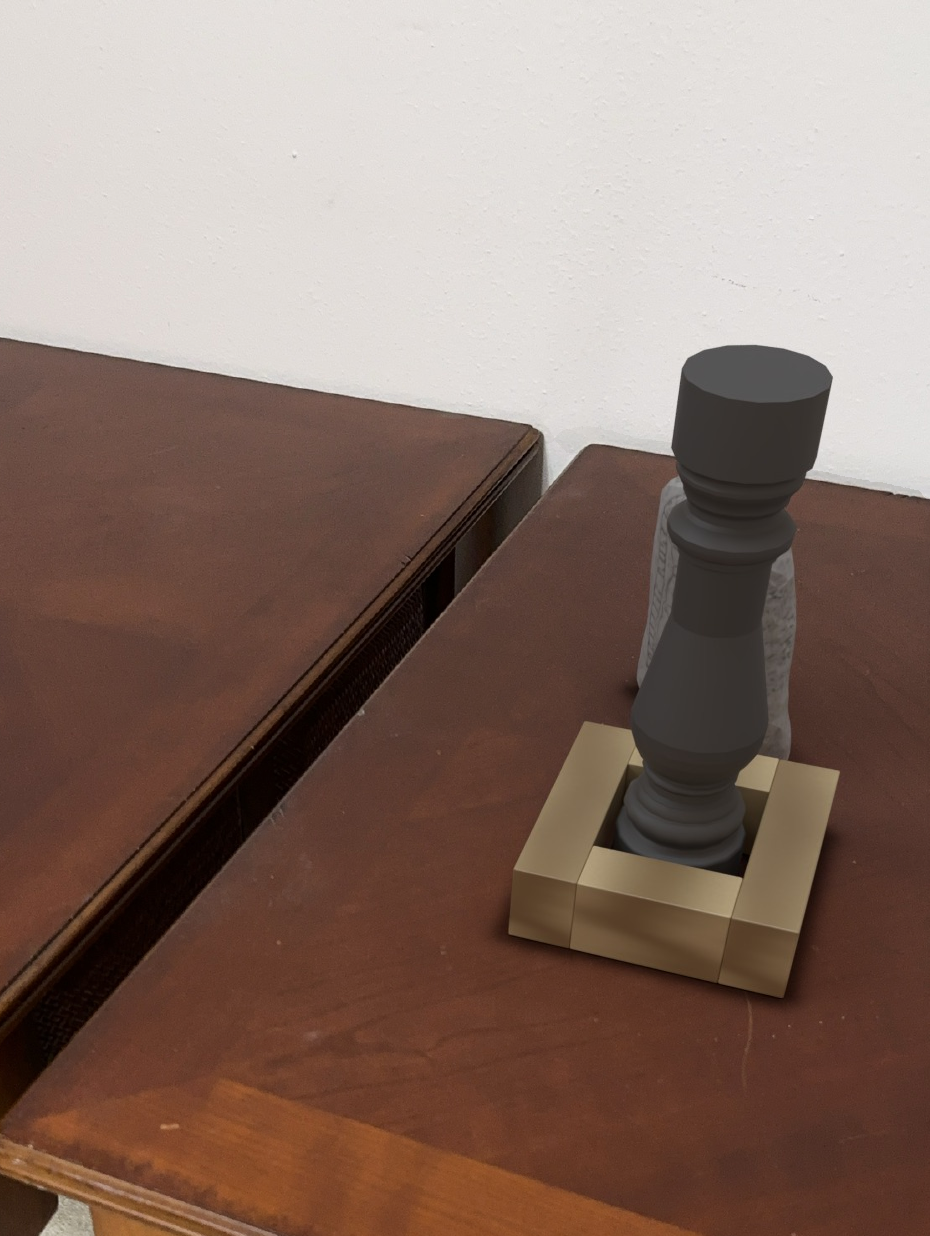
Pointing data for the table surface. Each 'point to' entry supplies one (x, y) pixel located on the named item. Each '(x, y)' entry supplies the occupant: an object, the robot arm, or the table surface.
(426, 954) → the table surface
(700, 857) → the candle holder
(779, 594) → the decorative stone
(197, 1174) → the table surface
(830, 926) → the table surface
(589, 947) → the socket stand
